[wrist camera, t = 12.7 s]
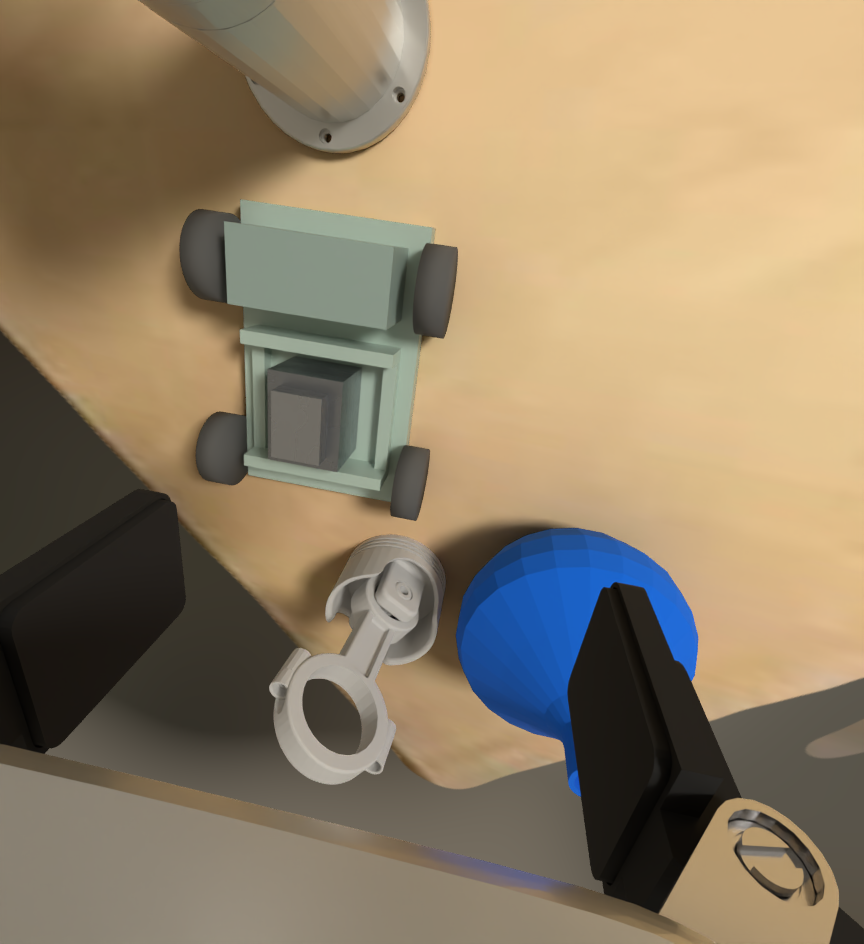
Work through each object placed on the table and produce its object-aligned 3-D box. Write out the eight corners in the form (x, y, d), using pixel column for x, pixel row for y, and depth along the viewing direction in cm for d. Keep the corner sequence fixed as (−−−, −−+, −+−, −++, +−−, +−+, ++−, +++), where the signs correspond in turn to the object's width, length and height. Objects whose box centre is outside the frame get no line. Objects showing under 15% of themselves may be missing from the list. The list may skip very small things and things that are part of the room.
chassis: (224, 197, 36) (169, 186, 30) (462, 232, 35) (453, 228, 29) (235, 464, 45) (194, 495, 39) (423, 500, 44) (410, 537, 38)
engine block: (295, 355, 39) (257, 373, 33) (362, 367, 38) (336, 387, 32) (294, 437, 42) (258, 466, 36) (356, 448, 41) (330, 480, 35)
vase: (710, 565, 43) (850, 777, 25) (579, 684, 50) (618, 909, 33) (537, 458, 41) (560, 607, 23) (429, 598, 48) (386, 788, 31)
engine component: (403, 633, 51) (467, 578, 47) (344, 849, 32) (440, 789, 28) (321, 571, 49) (380, 509, 45) (208, 762, 30) (291, 685, 27)
